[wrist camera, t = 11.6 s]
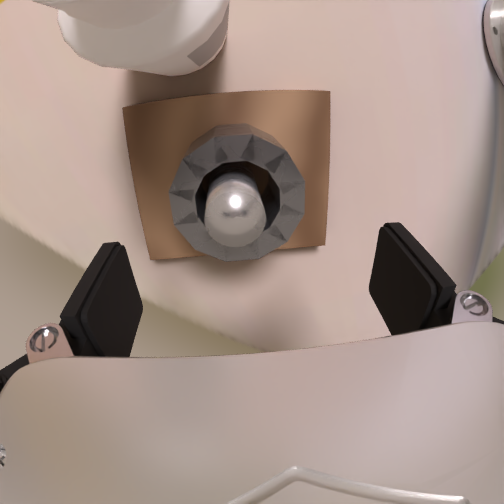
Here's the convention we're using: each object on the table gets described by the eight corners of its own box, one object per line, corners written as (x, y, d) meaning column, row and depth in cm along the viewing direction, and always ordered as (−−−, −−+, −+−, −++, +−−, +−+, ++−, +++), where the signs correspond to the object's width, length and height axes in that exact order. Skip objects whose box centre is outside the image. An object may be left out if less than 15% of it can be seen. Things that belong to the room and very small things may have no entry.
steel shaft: (252, 155, 20) (264, 188, 14) (254, 196, 22) (266, 244, 16) (208, 159, 20) (201, 194, 14) (212, 200, 22) (208, 249, 16)
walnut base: (323, 90, 20) (330, 91, 18) (320, 236, 26) (325, 245, 24) (128, 106, 19) (122, 107, 18) (154, 250, 25) (150, 260, 24)
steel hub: (286, 121, 19) (305, 132, 15) (287, 220, 23) (303, 254, 19) (175, 129, 19) (161, 143, 15) (188, 228, 23) (181, 265, 18)
